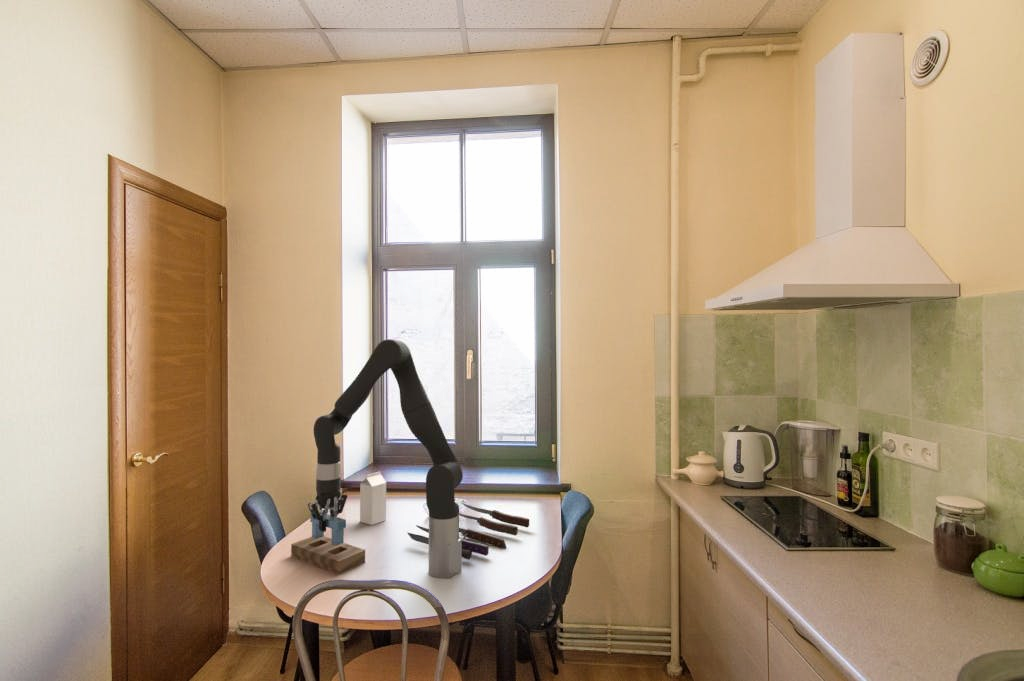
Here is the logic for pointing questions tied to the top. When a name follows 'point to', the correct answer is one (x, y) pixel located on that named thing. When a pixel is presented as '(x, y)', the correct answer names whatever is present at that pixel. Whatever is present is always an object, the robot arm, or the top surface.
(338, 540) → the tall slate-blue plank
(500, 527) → the knife set
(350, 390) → the robot arm
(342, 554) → the socket block
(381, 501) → the milk carton
